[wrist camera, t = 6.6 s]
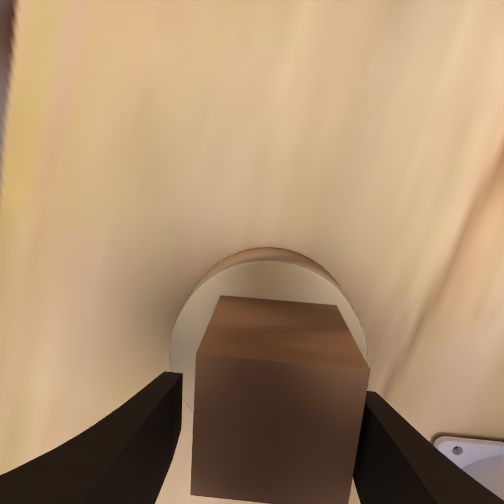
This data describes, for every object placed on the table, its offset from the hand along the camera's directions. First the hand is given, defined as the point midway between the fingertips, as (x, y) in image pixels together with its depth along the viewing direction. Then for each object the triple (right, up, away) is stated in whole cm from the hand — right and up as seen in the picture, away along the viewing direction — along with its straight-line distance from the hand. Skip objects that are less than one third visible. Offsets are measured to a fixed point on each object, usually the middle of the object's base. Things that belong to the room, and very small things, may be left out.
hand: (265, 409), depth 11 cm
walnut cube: (0, +1, +3) cm, 3 cm away
